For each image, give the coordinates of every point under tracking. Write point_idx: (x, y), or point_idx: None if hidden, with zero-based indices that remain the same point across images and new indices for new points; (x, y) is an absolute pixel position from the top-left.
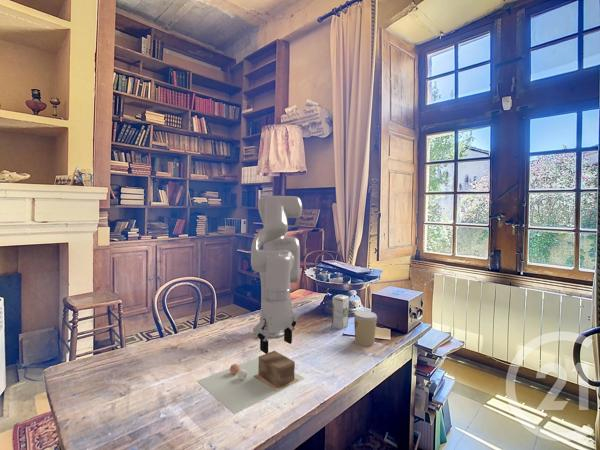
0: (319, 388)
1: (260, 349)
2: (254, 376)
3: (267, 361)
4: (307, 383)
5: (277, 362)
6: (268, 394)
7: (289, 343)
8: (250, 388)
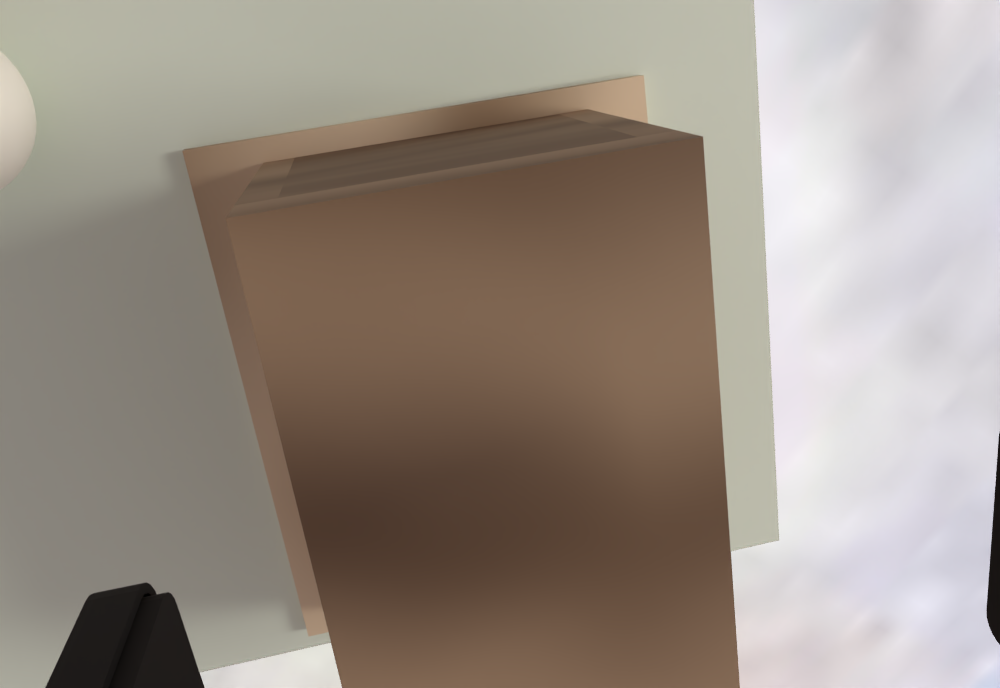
0: (795, 676)
1: (90, 609)
2: (187, 167)
3: (305, 521)
4: (762, 548)
5: (465, 630)
6: (195, 638)
7: (991, 614)
8: (14, 419)
